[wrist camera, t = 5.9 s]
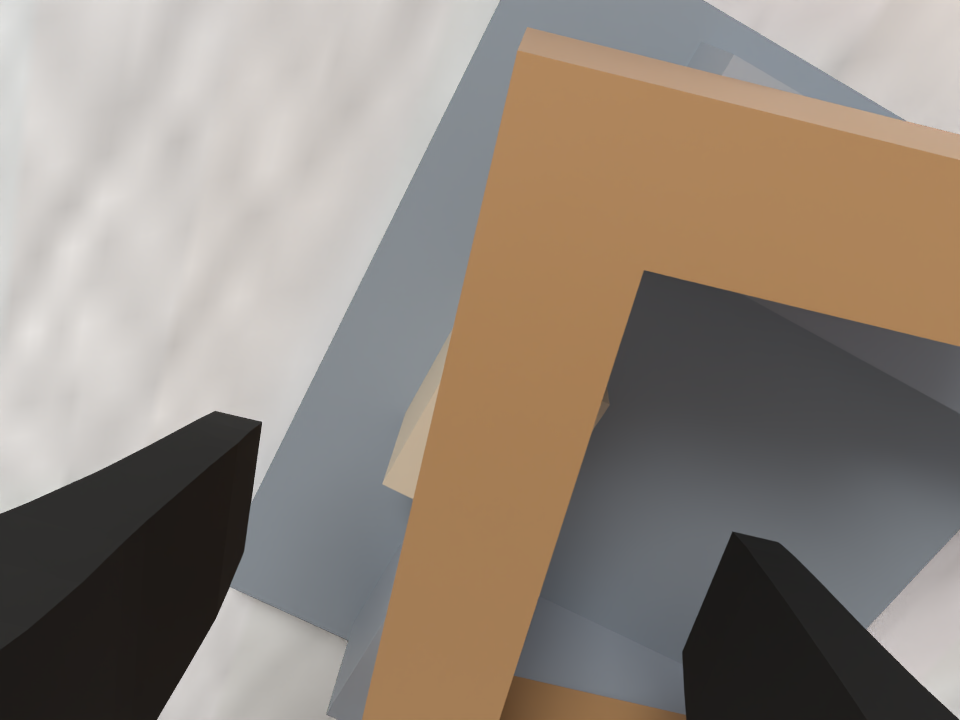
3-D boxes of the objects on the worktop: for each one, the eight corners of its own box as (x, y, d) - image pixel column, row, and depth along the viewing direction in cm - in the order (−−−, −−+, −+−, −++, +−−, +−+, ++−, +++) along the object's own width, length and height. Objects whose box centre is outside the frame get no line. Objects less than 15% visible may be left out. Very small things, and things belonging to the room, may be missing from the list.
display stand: (1147, 268, 15) (1308, 346, 12) (697, 765, 21) (724, 910, 17) (546, -89, 14) (546, -110, 10) (229, 550, 19) (165, 666, 16)
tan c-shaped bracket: (1025, 151, 11) (1257, 234, 8) (715, 790, 16) (765, 1029, 12) (527, 27, 11) (517, 50, 7) (366, 711, 16) (312, 930, 12)
